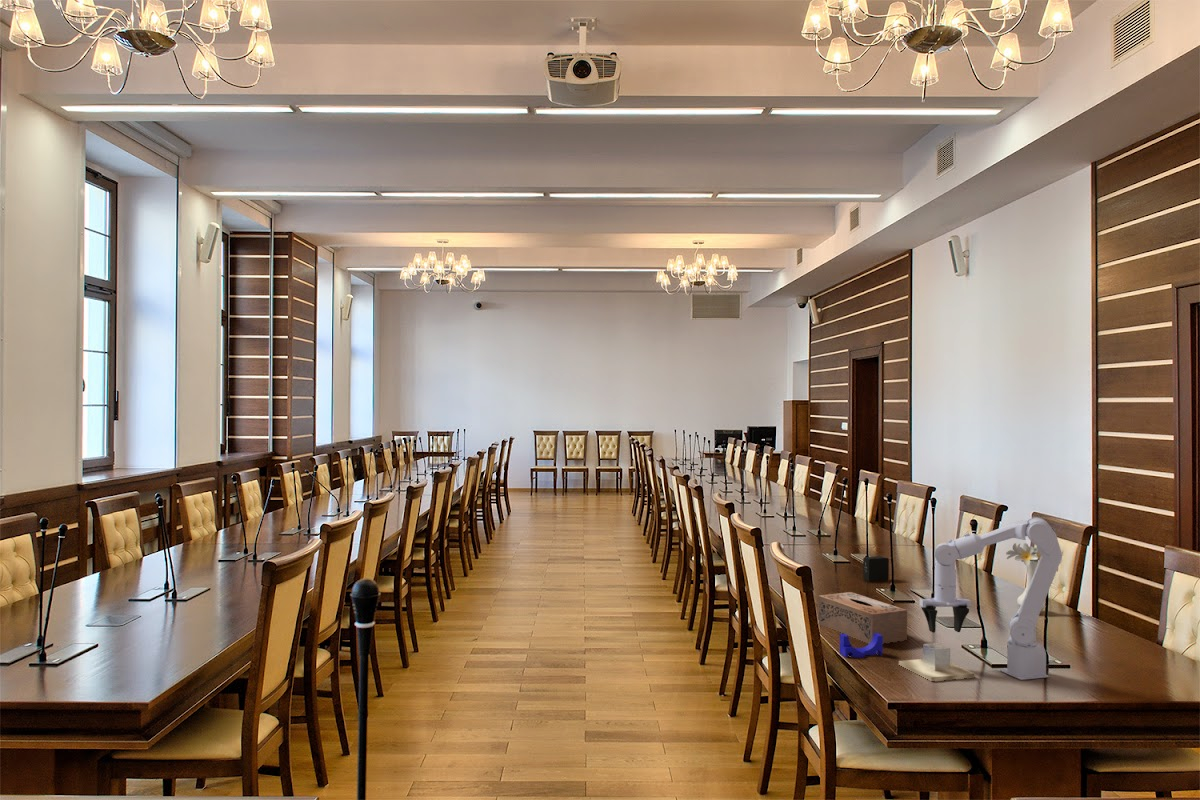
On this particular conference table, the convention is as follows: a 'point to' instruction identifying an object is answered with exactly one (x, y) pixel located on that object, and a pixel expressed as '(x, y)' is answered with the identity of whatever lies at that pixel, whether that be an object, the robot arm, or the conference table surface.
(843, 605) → the tissue box cover
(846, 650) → the cable clip
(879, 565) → the electronic device
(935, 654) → the brushed grey cube
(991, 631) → the conference table surface
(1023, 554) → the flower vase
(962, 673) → the board
